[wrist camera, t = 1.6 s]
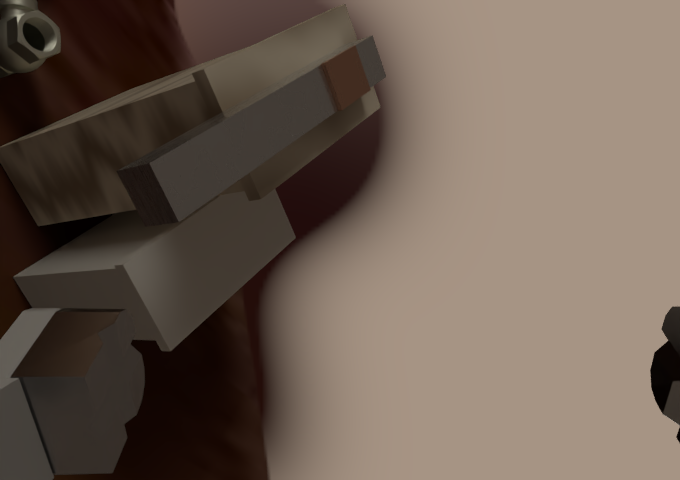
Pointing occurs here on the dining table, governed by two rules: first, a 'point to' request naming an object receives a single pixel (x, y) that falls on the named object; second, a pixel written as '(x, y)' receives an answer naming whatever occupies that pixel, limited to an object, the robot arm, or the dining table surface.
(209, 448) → the dining table surface
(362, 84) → the bar
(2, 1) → the valve
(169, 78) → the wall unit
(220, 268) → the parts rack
